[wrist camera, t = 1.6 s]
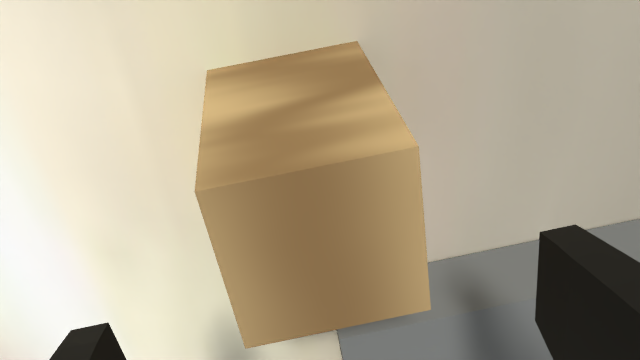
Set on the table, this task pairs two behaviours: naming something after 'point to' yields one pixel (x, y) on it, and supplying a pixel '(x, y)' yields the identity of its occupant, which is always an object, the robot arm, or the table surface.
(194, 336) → the table surface
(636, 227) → the slate stand
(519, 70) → the table surface
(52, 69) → the table surface
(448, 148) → the table surface
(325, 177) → the oak block
